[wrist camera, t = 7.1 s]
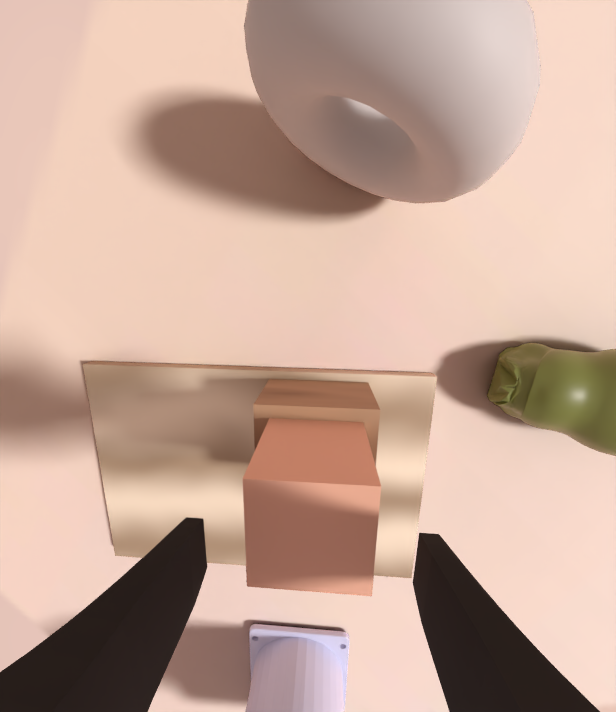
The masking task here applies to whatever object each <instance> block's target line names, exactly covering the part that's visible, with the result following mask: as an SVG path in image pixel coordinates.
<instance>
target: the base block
mask: <svg viewBox="0 0 616 712" xmlns="http://www.w3.org/2000/svg"><path fill="white" fill-rule="evenodd" d="M253 411H254V446H255V449H256V447H257V445H258V443H259V440H260V438H261V436H262V434H263V431H264V429H265V427H266V425H267V422H268V420H269V418H277V419H300V420H323V421H346V422H364V426H365V429H366V433H367V437H368V440H369V444H370V448H371V451H372V455H373V458H374V462H375V466H376V456H377V444H378V432H379V420H380V408H379V406H378V403H377V401H376V399H375V397H374V394H373V392H372V390H371V388H370V385H369V383H368V382H345V381H318V380H291V379H269V380H268V382H267V384H266V385H265V387H264V388H263V390H262V391H261V393H260V395H259V396H258V398H257V399H256V401H255V402H254V404H253Z"/></svg>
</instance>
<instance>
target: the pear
mask: <svg viewBox="0 0 616 712" xmlns="http://www.w3.org/2000/svg"><path fill="white" fill-rule="evenodd" d="M487 397H488V398H489V401H490V402H493V403H494V405H497V406H500V407H501V409H502V410H503V411H504V412H505V413H506V414H508V415H510V416H512V417H515V418H519V419H521V420H522V421H523V422H525V423H527V424H529V425H531V426H534V427H537V428H542V429H547V430H552V431H557V432H560V433H563V434H566V435H568V436H570V437H571V438H573V439H574V440H576V441H578V442H579V443H581V444H583V445H585V446H587V447H589V448H591V449H594V450H596V451H599V452H602V453H606V454H610V455H614V456H616V349H610V350H603V351H598V352H579V351H572V350H560V349H553V348H550V347H548V346H545V345H542V344H538V343H526V344H522V345H520V346H518V347H508V348H506V349H505V350H504V351H503V352H501V353H500V354H499V358H498V362H497V365H496V369H495V373H494V375H493V379H492V381H491V385H490V389H489V391H488V394H487Z"/></svg>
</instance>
